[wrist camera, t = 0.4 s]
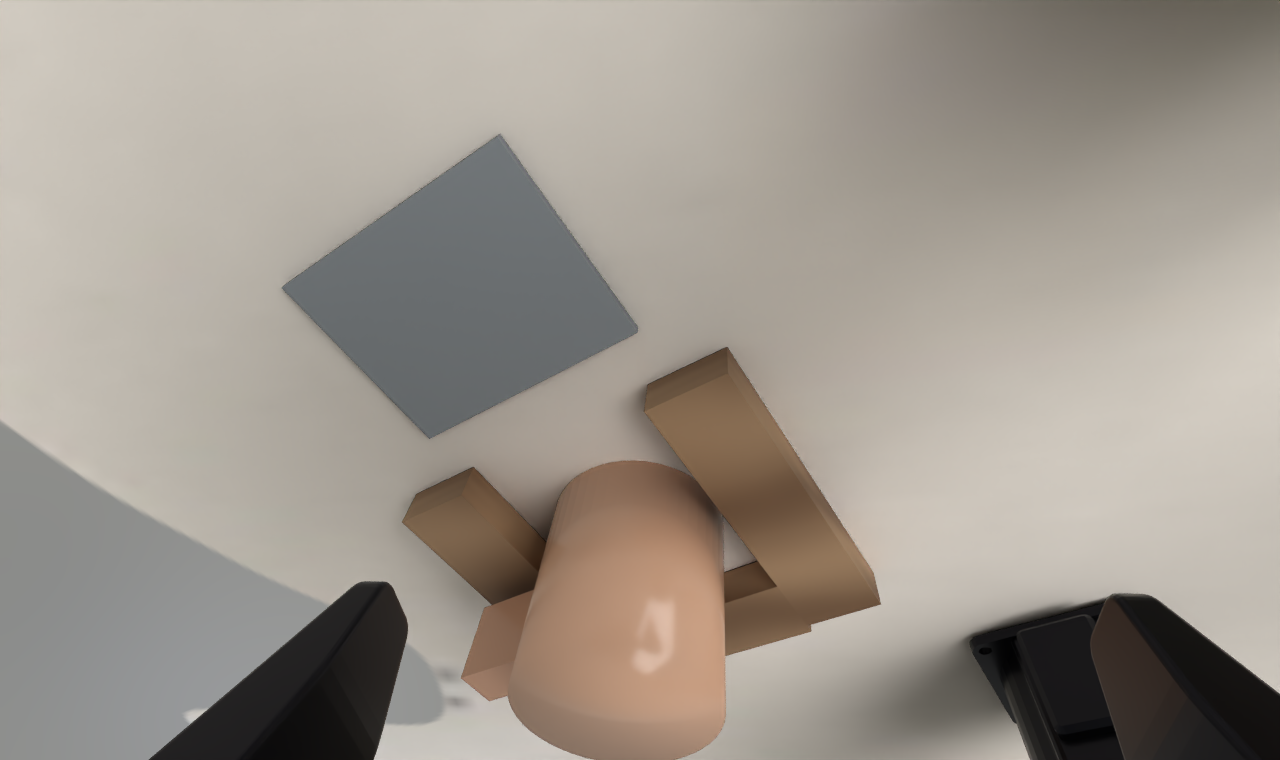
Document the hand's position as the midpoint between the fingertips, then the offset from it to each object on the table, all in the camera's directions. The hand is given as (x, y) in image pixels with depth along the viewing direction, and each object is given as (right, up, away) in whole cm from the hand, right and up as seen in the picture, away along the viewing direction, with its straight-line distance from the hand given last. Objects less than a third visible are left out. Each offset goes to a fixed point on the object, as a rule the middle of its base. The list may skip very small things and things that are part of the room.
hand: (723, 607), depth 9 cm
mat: (-7, +5, +13) cm, 16 cm away
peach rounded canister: (-2, -3, +19) cm, 19 cm away
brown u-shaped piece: (-1, -3, +18) cm, 18 cm away
